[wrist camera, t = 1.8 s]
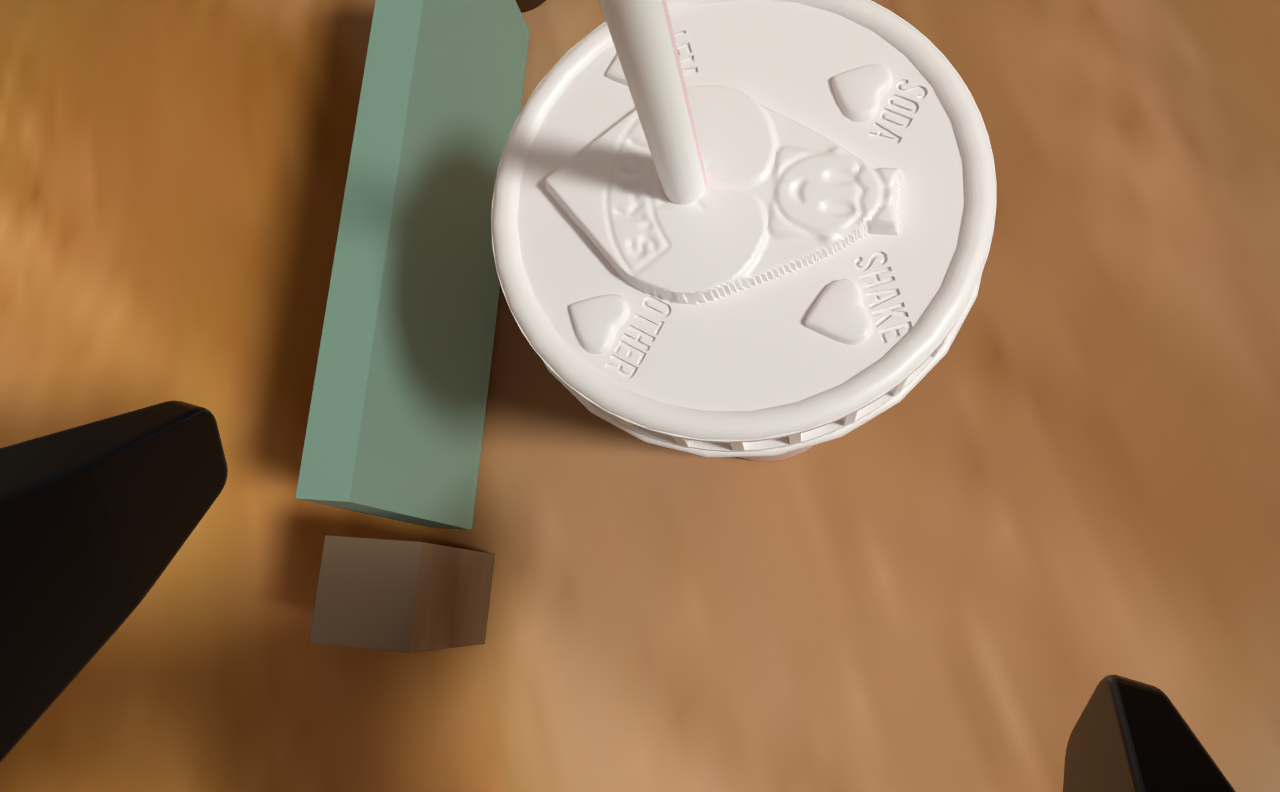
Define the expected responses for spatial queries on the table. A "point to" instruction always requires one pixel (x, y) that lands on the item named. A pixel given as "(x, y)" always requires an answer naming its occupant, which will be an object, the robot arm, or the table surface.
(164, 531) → the robot arm
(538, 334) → the smoothie
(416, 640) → the brown block
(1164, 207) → the table surface
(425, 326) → the green block
